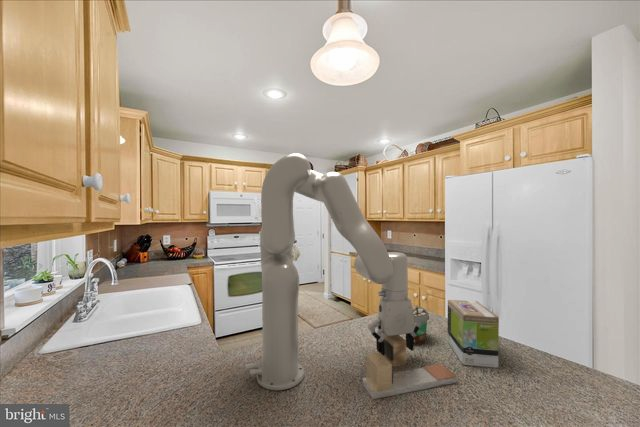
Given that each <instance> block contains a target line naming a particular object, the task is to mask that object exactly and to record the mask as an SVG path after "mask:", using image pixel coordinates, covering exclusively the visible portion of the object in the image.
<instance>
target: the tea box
mask: <svg viewBox="0 0 640 427" xmlns="http://www.w3.org/2000/svg"><path fill="white" fill-rule="evenodd" d="M499 320H500V318H499V316H498V315H497V314H495V313H494V312H492V311H491V310H489V308H487V307H486V306H484V305H483V304H482V303H480V302H479V301H477V300H476V301H474V300H459V299H448V300H447V332H446V333H447V334H446V335H447V343H448V344H449V346H450V347H451V349H452V350H453V351H454V353H455V355H456V356H457V358H458V359H459V361H460V362H461V364H462V365H464V366H473V367H482V368H483V367H484V368H494V369H495V368H499V347H500V346H499V340H500V339H499V336H500V335H499V334H500V333H499V331H500V329H499V327H500V322H499Z"/></svg>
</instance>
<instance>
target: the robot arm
mask: <svg viewBox="0 0 640 427" xmlns="http://www.w3.org/2000/svg"><path fill="white" fill-rule="evenodd" d="M260 193H261V195H260V196H261V197H260V203H261V204H260V207H261V208H260V211H261V213H260V214H261V228H260V231H259V245H260V246H259V247H260V264H261V283H262V284H261V286H262V288H261V289H262V291H261V294H262V298H261V299H262V302H261V303H262V304H261V305H262V308H261V309H262V310H261V314H262V318H261V319H262V320H261V321H262V356H260V360H257V361H256V362H251V363H249V362H248V363H245V364H244V372H245V373H248V372H249V376H250V377H251V376H256V381H257V384H258V385H259V386H260V387H262V388H264V389H267V390H269V391H283V390H287V389H291V388H293V387H295V386H297V385H299V383H301V381H302V380H303V379H304V377H305V372H304V370H305V369H304V367H303V365H301V364H300V363H299V293H300V275H299V272H298V269H297V267H296V265H295V264H294V263H293V246H294V245H295V242H296V241H295V240H296V235H295V224H294V223H295V222H294V196H295V193H297V194H299V195H301V196H304V197H306V198H309V199H311V200H315V201H318V202H320V203H323V204H324V206H325V208H326V210H327V212H328V214H329V216H330V218H331V220H332V222H333V224H334V226H335V228H336V230H337V231H338V233H339V234H340V235H341V236H342V237H343V238H344V239H345V240H346V241H347V242H349V244H350V245H351V246H352V247H353V249H354V250H355V251H356V253H357V256H356V257H355V259H354V261H353V267H354V269H355V271H356V272H357V274H359V275H360V276H361V277H363V278H365V279H367V280H369V281H370V282H372V283H374V284H376V285H381V290H380V291H378V293H377V295H378V297H380V298H379V303H378V307H377V308H378V309H377V319H376V320H375V321H373V322H371V323H370V324H369V325H368V326H367V328H368V330H369V332H370V335H372V336H373V338H375V340H376V342H375V343H376V351H377V353H379V352H380V353H381V354H382V355H383V356H384V355H385V349H384V342H383V339H384V338H385V336H395V335H400V336H402V335H405V340H406V349H408V350H410V351H414V348H415V347H414V346H415V345H414V337H415V336H416V333H417V331H418V330H419V327H420V324H421V320H419V319H417V318H415V317H414V315H413V310H414V309H413V303H412V300H411V298H410V297H409V280H408V279H409V278H408V274H409V271H408V270H409V268H408V256H407V254H405V253H403V252H398V251H388V250H387V248H386V247H385V246H386V245H385V244H384V243H383V241H382V239H381V238H380V236H379V235H378V233H377V232H376V231H375V229H374V228H373V227H372V226H371V225H370V223H369V222H368V221H367V220H366V218H365V217H364V215H363V213H362V211H361V208H360V207H359V204H358V202H357V201H356V200H357V199H356V198H355V196H354V194H353V192H352V190H351V187H350V185H349V182H348V181H347V179H346V178H345V177H344V175H343V174H342V173H341V172H336V171H330V172H326V173H324V174H323V173H321V172H317V171H315V170H312V166H311V163H310V160H309V159H308V158H307V157H306V156H304V155H303V154H301V153H295V152H294V153H290V154H289V153H288V154H286V155H284V156H283V157H281V158H280V159H278V160H277V161H275V162H274V164H272V165H271V167H269V170H268V171H267V173H266V174H265V177H264V179H263V182H262V185H261V192H260ZM376 329H378V330H377V331H376Z"/></svg>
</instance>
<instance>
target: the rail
mask: <svg viewBox="0 0 640 427" xmlns="http://www.w3.org/2000/svg"><path fill="white" fill-rule="evenodd" d="M365 368H366V369H365V377H362V379H361V380H362V386H363V387H364V388H365V390H366V391H367V393H368V395H370V397H371V399H372V400H376V399H380V398H381V399H382V398H386V397H387V398H388V397H390V396H397V395H401V394H406V393H411V392H417V391H422V390H426V389H427V390H428V389H432V388H436V387H441V386H447V385H452V384H457V383H458V376H457V375H456V374H454V373H453V372H452V371H451V370H449V369H448V368H447V367H445V366H444V365H443V364H442V363H438V364H432V365H426V366H423V367H420V368H413V369H408V370H401V371H397V372H394V366H393V365H392V364H391V363H390V362H389V361H388V360H387V359H386V358H385V357H384V356H383V355H382V354H381V353H380V352H373V353H367V354H366V353H365Z"/></svg>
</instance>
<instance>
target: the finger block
mask: <svg viewBox="0 0 640 427" xmlns="http://www.w3.org/2000/svg"><path fill="white" fill-rule="evenodd" d="M383 342H384V349H385V355H384V357H385V358H386V359H387V360H388V361H389V362H390V363H391V364H392V367H393V368H394V367H399V366H406V365H407V347H406V338H404V337H402V335H395V336H385V338H384V339H383Z"/></svg>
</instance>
